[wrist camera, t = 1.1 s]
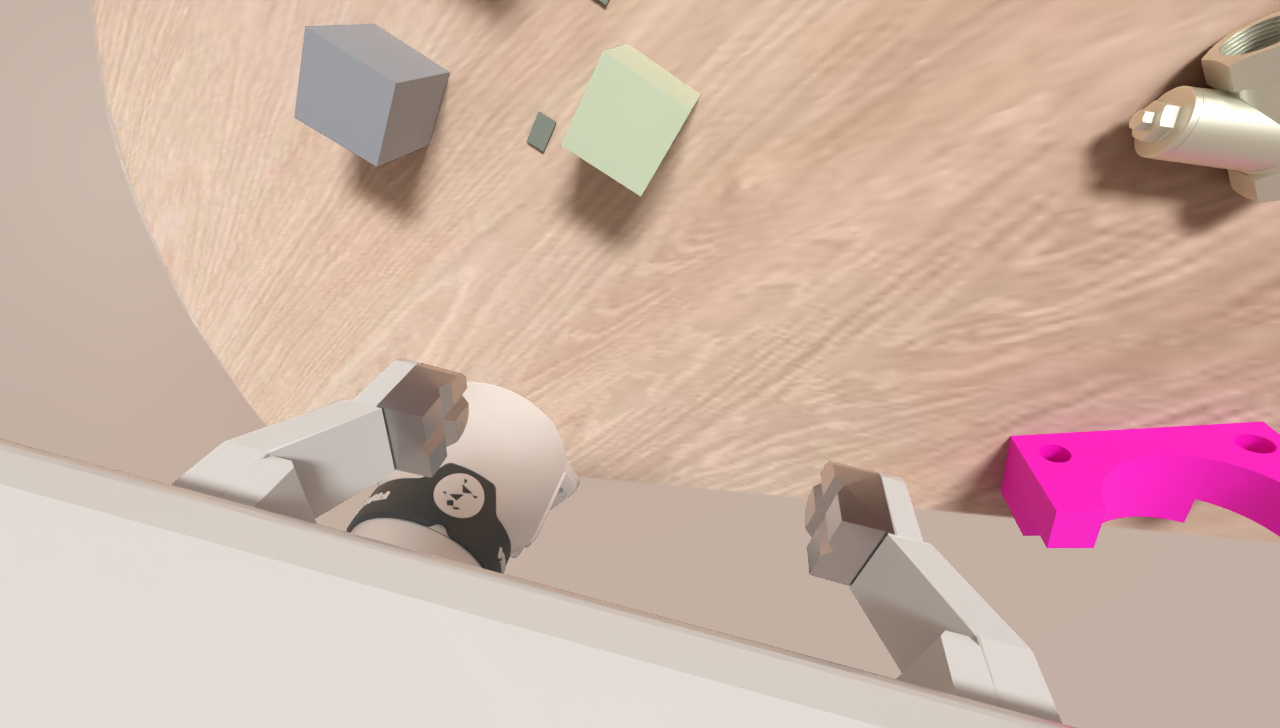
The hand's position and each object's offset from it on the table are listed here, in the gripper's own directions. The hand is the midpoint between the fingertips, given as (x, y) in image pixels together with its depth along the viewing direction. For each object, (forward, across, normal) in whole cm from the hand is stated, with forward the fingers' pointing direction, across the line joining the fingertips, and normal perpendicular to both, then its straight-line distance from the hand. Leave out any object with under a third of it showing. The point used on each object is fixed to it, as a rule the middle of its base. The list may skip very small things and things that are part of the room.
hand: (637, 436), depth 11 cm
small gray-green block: (+25, +11, 0) cm, 28 cm away
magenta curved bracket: (+26, -35, +16) cm, 46 cm away
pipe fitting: (+24, -22, -3) cm, 33 cm away
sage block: (+26, +5, -2) cm, 26 cm away
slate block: (+25, +21, 0) cm, 33 cm away
